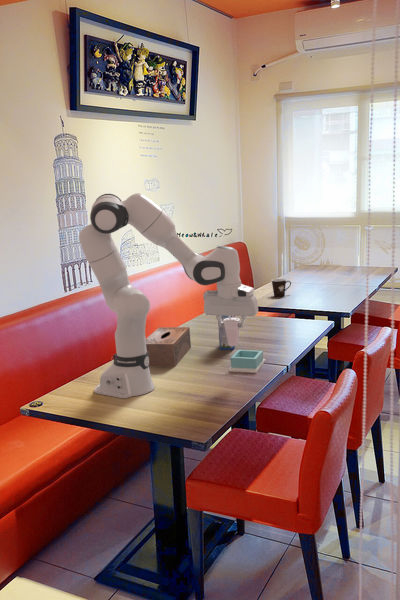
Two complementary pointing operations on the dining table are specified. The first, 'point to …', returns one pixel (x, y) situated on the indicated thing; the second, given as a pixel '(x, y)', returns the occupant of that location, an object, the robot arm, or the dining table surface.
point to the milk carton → (224, 337)
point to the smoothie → (232, 330)
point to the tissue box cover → (168, 346)
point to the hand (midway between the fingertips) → (231, 326)
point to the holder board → (247, 361)
